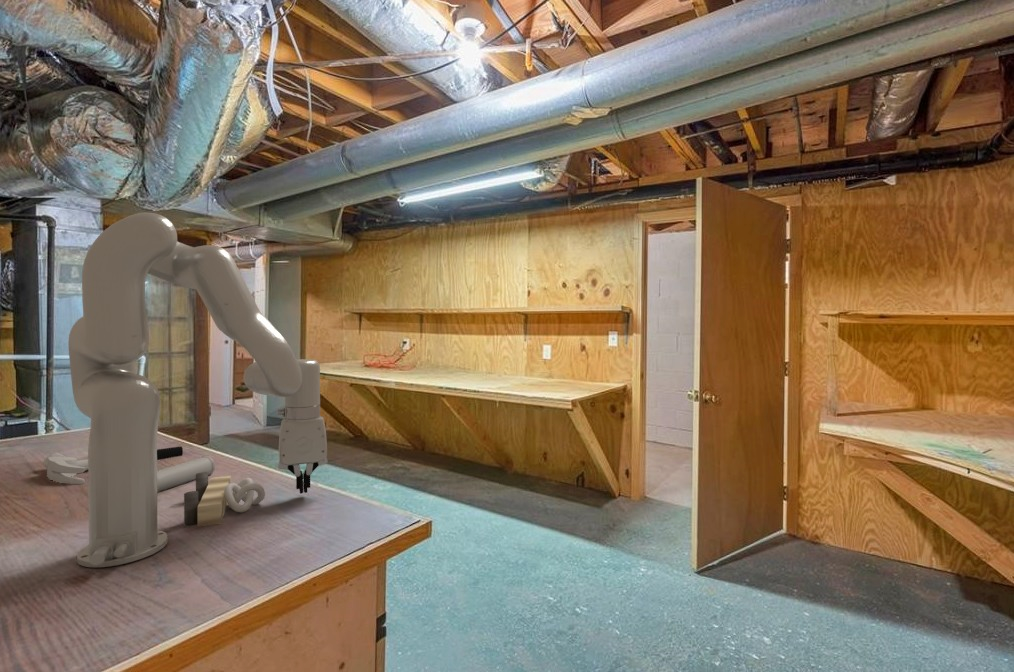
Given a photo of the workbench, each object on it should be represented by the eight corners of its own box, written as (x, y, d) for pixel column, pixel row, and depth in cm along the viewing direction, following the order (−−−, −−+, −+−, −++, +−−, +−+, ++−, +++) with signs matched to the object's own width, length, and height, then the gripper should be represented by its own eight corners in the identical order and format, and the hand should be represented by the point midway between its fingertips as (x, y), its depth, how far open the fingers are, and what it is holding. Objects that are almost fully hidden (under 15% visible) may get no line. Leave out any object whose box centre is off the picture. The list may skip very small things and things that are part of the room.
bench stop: (220, 523, 98) (220, 494, 98) (181, 529, 95) (181, 498, 95) (230, 492, 116) (230, 467, 116) (198, 496, 113) (198, 470, 113)
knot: (216, 507, 106) (216, 481, 106) (254, 498, 112) (254, 473, 112) (228, 517, 101) (228, 489, 101) (268, 506, 107) (268, 480, 107)
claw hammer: (170, 437, 155) (41, 452, 131) (197, 449, 141) (58, 468, 118) (170, 454, 155) (41, 473, 131) (196, 468, 141) (57, 491, 117)
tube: (118, 491, 105) (217, 460, 129) (101, 481, 107) (202, 452, 131) (113, 514, 106) (212, 478, 130) (96, 503, 107) (197, 470, 131)
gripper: (266, 418, 106) (267, 501, 106) (338, 413, 112) (338, 491, 112) (267, 412, 113) (267, 490, 113) (335, 408, 119) (335, 482, 119)
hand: (303, 491), depth 113 cm, fingers closed
